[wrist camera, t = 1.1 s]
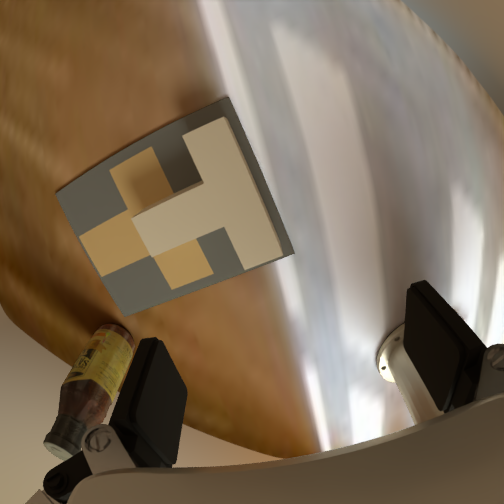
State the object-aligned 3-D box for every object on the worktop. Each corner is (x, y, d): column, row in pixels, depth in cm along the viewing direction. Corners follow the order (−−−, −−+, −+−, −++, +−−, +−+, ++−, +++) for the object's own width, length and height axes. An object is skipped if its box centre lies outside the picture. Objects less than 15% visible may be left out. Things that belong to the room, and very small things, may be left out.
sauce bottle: (106, 312, 37) (37, 425, 19) (144, 339, 39) (95, 461, 21) (90, 339, 39) (30, 443, 21) (125, 363, 41) (79, 473, 22)
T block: (227, 118, 28) (223, 116, 25) (279, 240, 33) (283, 255, 30) (125, 169, 30) (109, 174, 26) (181, 279, 35) (174, 296, 31)
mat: (228, 97, 28) (228, 96, 28) (294, 252, 34) (294, 253, 34) (56, 193, 31) (55, 194, 31) (125, 315, 37) (124, 316, 37)
